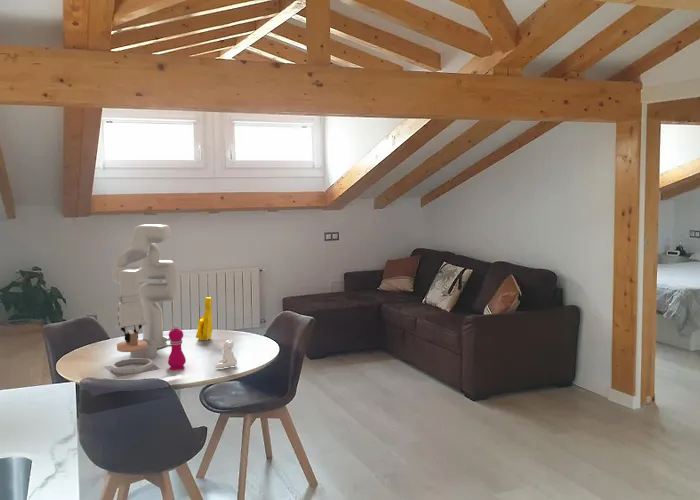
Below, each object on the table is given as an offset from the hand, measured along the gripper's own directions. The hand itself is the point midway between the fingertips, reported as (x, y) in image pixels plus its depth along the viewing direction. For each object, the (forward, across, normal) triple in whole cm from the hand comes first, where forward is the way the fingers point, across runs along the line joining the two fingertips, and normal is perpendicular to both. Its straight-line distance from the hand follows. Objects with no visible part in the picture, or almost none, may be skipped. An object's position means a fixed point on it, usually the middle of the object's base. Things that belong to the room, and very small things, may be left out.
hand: (131, 340), depth 265 cm
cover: (+3, 0, 0) cm, 3 cm away
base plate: (+13, 0, -1) cm, 13 cm away
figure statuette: (+14, +48, +31) cm, 59 cm away
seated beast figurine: (+13, +35, -20) cm, 42 cm away
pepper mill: (+13, +15, -13) cm, 23 cm away
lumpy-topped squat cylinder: (+14, +11, +15) cm, 23 cm away
